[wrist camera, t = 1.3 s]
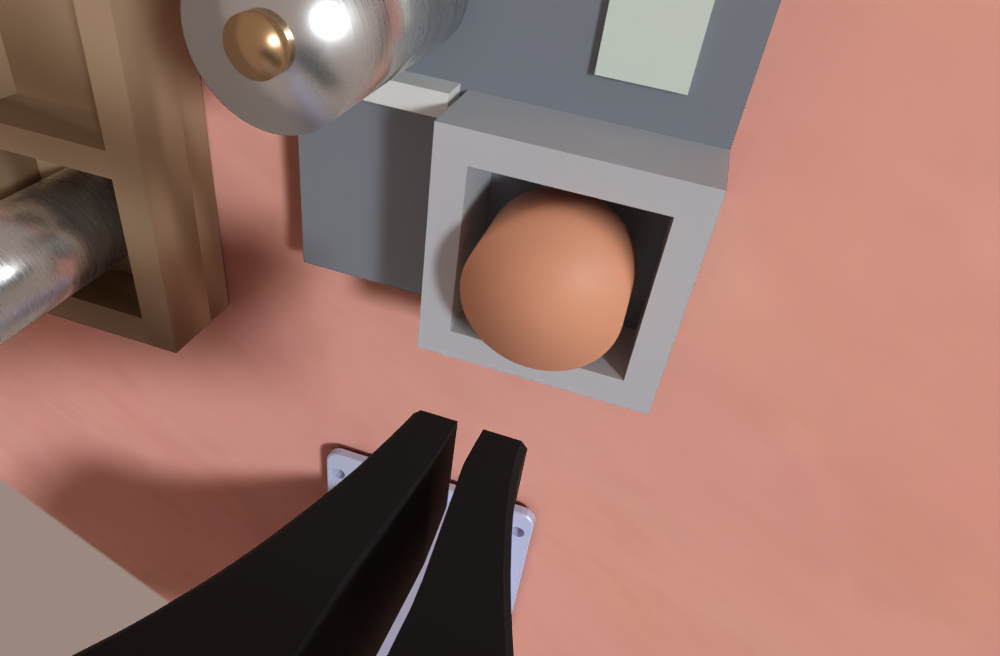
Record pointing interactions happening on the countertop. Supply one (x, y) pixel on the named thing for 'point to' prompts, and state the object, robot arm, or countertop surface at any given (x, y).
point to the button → (550, 280)
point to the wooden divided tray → (119, 152)
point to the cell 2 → (308, 53)
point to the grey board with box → (543, 160)
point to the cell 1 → (55, 244)
